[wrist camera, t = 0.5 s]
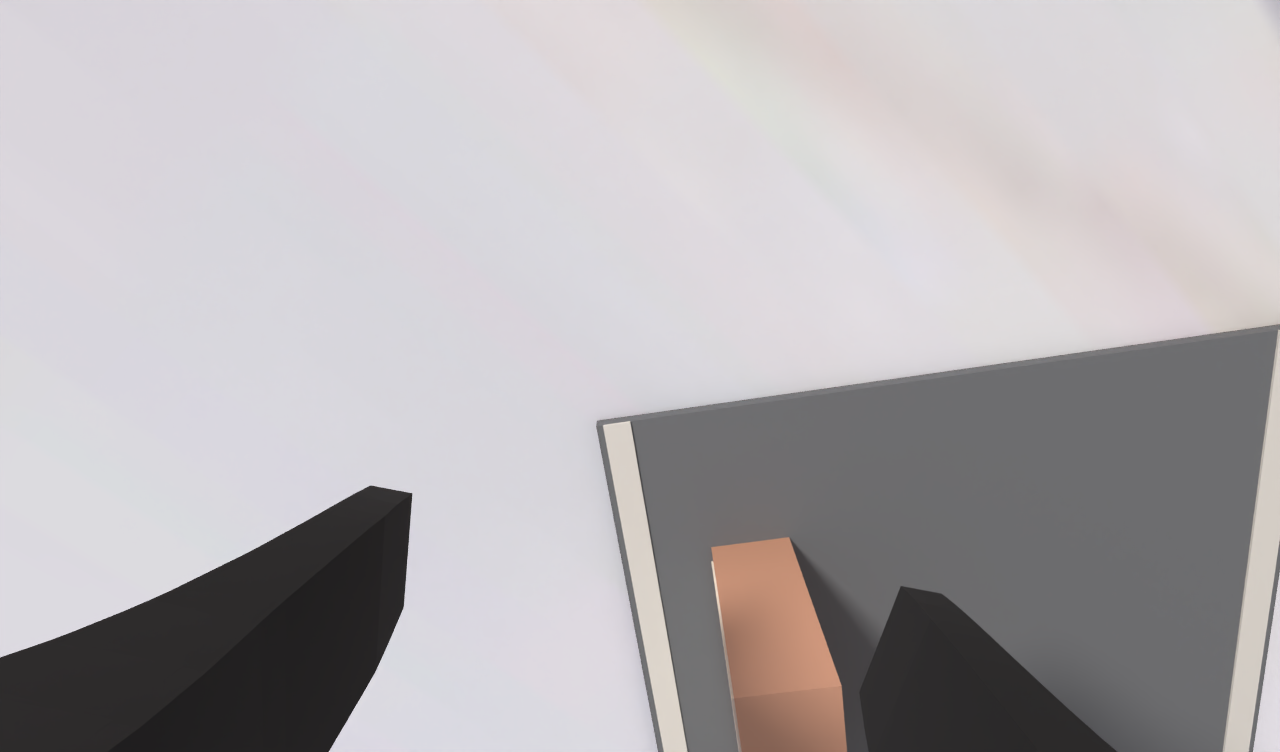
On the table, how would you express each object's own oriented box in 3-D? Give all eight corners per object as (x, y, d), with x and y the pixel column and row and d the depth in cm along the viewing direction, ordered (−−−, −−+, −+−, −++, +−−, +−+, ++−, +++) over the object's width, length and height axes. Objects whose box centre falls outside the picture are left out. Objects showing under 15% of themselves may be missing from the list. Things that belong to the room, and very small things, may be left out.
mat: (680, 861, 26) (680, 873, 26) (597, 420, 21) (596, 426, 20) (1234, 804, 25) (1244, 817, 25) (1303, 321, 20) (1319, 325, 19)
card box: (741, 770, 24) (770, 969, 19) (709, 547, 22) (731, 698, 16) (812, 763, 24) (864, 961, 18) (788, 537, 21) (841, 685, 16)
